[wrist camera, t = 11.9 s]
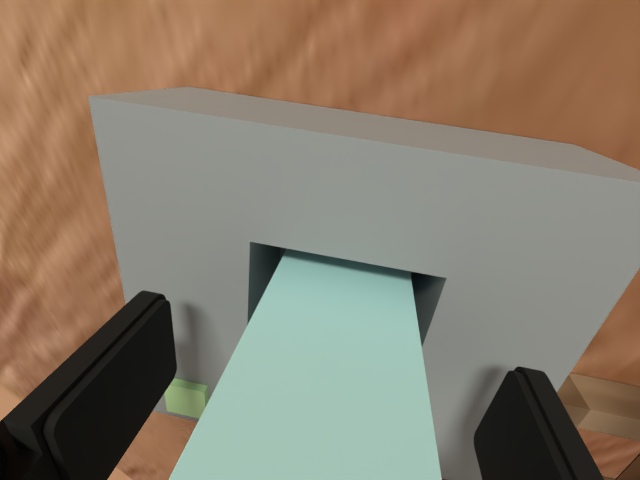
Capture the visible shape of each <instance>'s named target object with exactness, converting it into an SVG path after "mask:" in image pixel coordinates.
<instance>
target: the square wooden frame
mask: <svg viewBox="0 0 640 480" xmlns="http://www.w3.org/2000/svg"><path fill="white" fill-rule="evenodd" d="M557 394H558V396H559V398H560V400H561V402H562V403H563V405H564V407H565V409H566V411H567V413H568V414H569V416H570V418H571V420H572V422H573V423H574V425H575V427H576V428H581V429H586V430H590V431H595V432H600V433H605V434H609V435H614V436H619V437H623V438H628V439H633V440H637V441H640V387H638V386H633V385H628V384H623V383H618V382H613V381H608V380H603V379H598V378H593V377H588V376H583V375H578V374H574V373H569V375H568V376H567V378H566V379H565V381H564V382H563V384H562V385H561V387H560V388H559V390H558V391H557ZM603 478H604V480H640V455H639V456H638V457H637V458H636V459H635V460H634V461H633V463H632V464H631V465H630V466H629V467H628V468H627V469H626V470H625V471H624V472H623V473H622V474H621V475H620V476H619V477H618V478H617V479H611V478H607V477H603Z"/></svg>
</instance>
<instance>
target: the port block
mask: <svg viewBox="0 0 640 480" xmlns="http://www.w3.org/2000/svg"><path fill="white" fill-rule="evenodd" d="M88 98H89V104H90V110H91V115H92V121H93V126H94V132H95V137H96V143H97V148H98V154H99V159H100V165H101V170H102V176H103V181H104V187H105V192H106V198H107V203H108V209H109V214H110V220H111V226H112V231H113V237H114V242H115V248H116V253H117V259H118V264H119V270H120V275H121V281H122V286H123V292H124V297H125V303H126V304H127V303H128V302H129V301H130V300H131V299H132V298H133V297H134V296H136V295H137V294H138V293H139V292H140V291H143V290H145V291H150V292H155V293H160V294H163V295H164V296H165V297H166V300H168V301H169V302H170V304H171V313H172V323H173V333H174V342H175V352H176V362H177V371H176V374H175V377H174V379H173V381H172V382H171V384H170V385H169V387H168V388H167V390H166V391H165V393H164V394H163V396H162V397H161V399H160V400H159V402H158V403H157V405H156V406H155V408H154V409H153V411H155V412H159V413H163V414H167V415H172V416H176V417H180V418H185V419H189V420H193V421H199V419H200V417H201V415H202V413H203V411H204V409H205V407H206V406H207V404H208V402H209V400H210V398H211V396H212V394H213V392H214V390H215V388H216V386H217V384H218V382H219V380H220V378H221V376H222V374H223V372H224V370H225V368H226V366H227V364H228V362H229V361H230V359H231V357H232V355H233V353H234V351H235V349H236V347H237V345H238V343H239V341H240V339H241V337H242V335H243V333H244V331H245V329H246V327H247V325H248V323H249V321H250V319H251V318H252V316H253V314H254V312H255V310H256V308H257V306H258V304H259V302H260V300H261V298H262V296H263V294H264V292H265V290H266V288H267V286H268V284H269V282H270V280H271V278H272V276H273V274H274V273H275V271H276V269H277V267H278V265H279V263H280V261H281V259H282V257H283V255H284V253H285V251H286V249H292V250H298V251H303V252H309V253H314V254H319V255H325V256H330V257H336V258H341V259H346V260H352V261H357V262H363V263H368V264H373V265H379V266H384V267H390V268H395V269H400V270H406V271H410V274H411V281H412V288H413V294H414V301H415V307H416V314H417V320H418V327H419V333H420V340H421V346H422V353H423V360H424V366H425V373H426V379H427V386H428V392H429V399H430V405H431V412H432V418H433V425H434V432H435V438H436V445H437V451H438V458H439V464H440V471H441V477H442V478H443V479H447V480H482V476H481V472H480V468H479V464H478V460H477V456H476V452H475V448H474V434H475V431H476V429H477V427H478V426H479V424H480V422H481V420H482V418H483V416H484V415H485V413H486V411H487V409H488V407H489V405H490V403H491V402H492V400H493V398H494V396H495V394H496V392H497V391H498V389H499V387H500V385H501V383H502V381H503V379H504V378H505V376H506V374H507V372H508V371H510V370H511V371H514V369H515V368H516V367H518V366H520V367H525V368H530V369H535V370H540V371H543V372H545V373H546V375H547V376H548V378H549V380H550V381H551V383H552V385H553V387H554V389H555V391H556V392H557V391H558V390H559V388H560V387H561V385H562V384H563V382H564V381H565V379H566V378H567V376H568V375H569V373H570V372H571V370H572V369H573V367H574V366H575V364H576V363H577V361H578V360H579V358H580V357H581V355H582V354H583V352H584V351H585V349H586V348H587V346H588V345H589V343H590V342H591V340H592V339H593V337H594V336H595V334H596V333H597V331H598V330H599V328H600V327H601V325H602V324H603V322H604V321H605V319H606V318H607V316H608V315H609V313H610V312H611V310H612V309H613V307H614V306H615V304H616V303H617V301H618V300H619V298H620V297H621V295H622V294H623V292H624V291H625V289H626V288H627V286H628V285H629V283H630V281H631V280H632V278H633V277H634V275H635V274H636V272H637V271H638V269H639V268H640V170H638V169H635V168H633V167H630V166H627V165H625V164H622V163H620V162H617V161H615V160H612V159H610V158H607V157H604V156H602V155H599V154H597V153H594V152H592V151H589V150H587V149H584V148H582V147H579V146H576V145H574V144H567V143H561V142H554V141H547V140H541V139H534V138H527V137H521V136H514V135H507V134H501V133H494V132H487V131H481V130H474V129H467V128H461V127H454V126H447V125H441V124H434V123H427V122H421V121H414V120H407V119H401V118H394V117H387V116H381V115H374V114H367V113H361V112H354V111H347V110H341V109H334V108H327V107H321V106H314V105H307V104H301V103H294V102H287V101H281V100H274V99H267V98H261V97H254V96H247V95H241V94H234V93H227V92H221V91H214V90H207V89H200V88H194V87H179V88H168V89H158V90H148V91H137V92H127V93H117V94H106V95H96V96H88Z"/></svg>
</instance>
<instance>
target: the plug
mask: <svg viewBox="0 0 640 480" xmlns="http://www.w3.org/2000/svg"><path fill="white" fill-rule="evenodd" d="M169 480H442V477H441V471H440V464H439V458H438V451H437V445H436V438H435V432H434V425H433V418H432V412H431V405H430V399H429V392H428V386H427V379H426V373H425V366H424V360H423V353H422V346H421V340H420V333H419V327H418V320H417V314H416V307H415V301H414V294H413V288H412V281H411V274H410V271H406V270H400V269H395V268H390V267H384V266H379V265H373V264H368V263H363V262H357V261H352V260H346V259H341V258H336V257H330V256H325V255H319V254H314V253H309V252H303V251H298V250H292V249H286V251H285V253H284V255H283V257H282V259H281V261H280V263H279V265H278V267H277V269H276V271H275V273H274V274H273V276H272V278H271V280H270V282H269V284H268V286H267V288H266V290H265V292H264V294H263V296H262V298H261V300H260V302H259V304H258V306H257V308H256V310H255V312H254V314H253V316H252V318H251V319H250V321H249V323H248V325H247V327H246V329H245V331H244V333H243V335H242V337H241V339H240V341H239V343H238V345H237V347H236V349H235V351H234V353H233V355H232V357H231V359H230V361H229V362H228V364H227V366H226V368H225V370H224V372H223V374H222V376H221V378H220V380H219V382H218V384H217V386H216V388H215V390H214V392H213V394H212V396H211V398H210V400H209V402H208V404H207V406H206V407H205V409H204V411H203V413H202V415H201V417H200V419H199V421H198V423H197V425H196V427H195V429H194V431H193V433H192V435H191V437H190V439H189V441H188V443H187V445H186V447H185V449H184V451H183V452H182V454H181V456H180V458H179V460H178V462H177V464H176V466H175V468H174V470H173V472H172V474H171V476H170V478H169Z"/></svg>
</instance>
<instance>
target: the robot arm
mask: <svg viewBox="0 0 640 480" xmlns="http://www.w3.org/2000/svg"><path fill="white" fill-rule="evenodd" d="M176 371H177V362H176V352H175V342H174V333H173V323H172V313H171V304H170V302H169V301H168V300H166V297H165V296H164V295H163V294H160V293H155V292H150V291H145V290H143V291H140V292H139V293H138V294H137V295H136V296H134V297H133V298H132V299H131V300H130V301H129V302H128V303H127V304H126V305H125V306H124V307H123V308H122V309H121V310H119V311H118V312H117V313H116V314H115V315H114V316H113V317H112V318H111V319H110V320H109V321H108V322H107V323H106V324H104V325H103V326H102V327H101V328H100V329H99V330H98V331H97V332H96V333H95V334H94V335H93V336H92V337H90V338H89V339H88V340H87V341H86V342H85V343H84V344H83V345H82V346H81V347H79V348H78V349H77V350H76V351H75V352H74V353H73V354H72V355H71V356H70V357H69V358H68V359H67V360H66V361H64V362H63V363H62V364H61V365H60V366H59V367H58V368H57V369H56V370H55V371H54V372H53V373H52V374H51V375H49V376H48V377H47V378H46V379H45V380H44V381H43V382H42V383H41V384H40V385H39V386H38V387H37V388H35V389H34V390H33V391H32V392H31V393H30V394H29V395H28V396H27V397H26V398H25V399H24V400H23V401H22V402H20V403H19V404H18V405H17V406H16V407H15V408H14V409H13V410H12V411H11V412H10V413H9V414H8V415H7V416H6V417H4V418H3V419H2V420H1V421H0V480H107V479H108V478H109V476H110V474H111V473H112V471H113V470H114V468H115V467H116V465H117V464H118V462H119V461H120V459H121V458H122V456H123V455H124V453H125V452H126V450H127V449H128V447H129V446H130V444H131V443H132V441H133V440H134V438H135V437H136V435H137V434H138V432H139V431H140V429H141V428H142V426H143V425H144V423H145V422H146V420H147V418H148V417H149V415H150V414H151V412H152V411H153V409H154V408H155V406H156V405H157V403H158V402H159V400H160V399H161V397H162V396H163V394H164V393H165V391H166V390H167V388H168V387H169V385H170V384H171V382H172V381H173V379H174V377H175V374H176ZM474 448H475V452H476V456H477V460H478V464H479V468H480V472H481V476H482V480H604V478H603V476H602V475H601V473H600V471H599V469H598V467H597V465H596V464H595V462H594V460H593V458H592V456H591V455H590V453H589V451H588V449H587V447H586V445H585V444H584V442H583V440H582V438H581V436H580V434H579V433H578V431H577V429H576V427H575V425H574V423H573V422H572V420H571V418H570V416H569V414H568V413H567V411H566V409H565V407H564V405H563V403H562V402H561V400H560V398H559V396H558V394H557V392H556V391H555V389H554V387H553V385H552V383H551V381H550V380H549V378H548V376H547V375H546V373H545V372H543V371H540V370H535V369H530V368H525V367H520V366H518V367H516V368H515V369H514V371H511V370H510V371H508V372H507V374H506V376H505V378H504V379H503V381H502V383H501V385H500V387H499V389H498V391H497V392H496V394H495V396H494V398H493V400H492V402H491V403H490V405H489V407H488V409H487V411H486V413H485V415H484V416H483V418H482V420H481V422H480V424H479V426H478V427H477V429H476V431H475V434H474Z"/></svg>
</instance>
